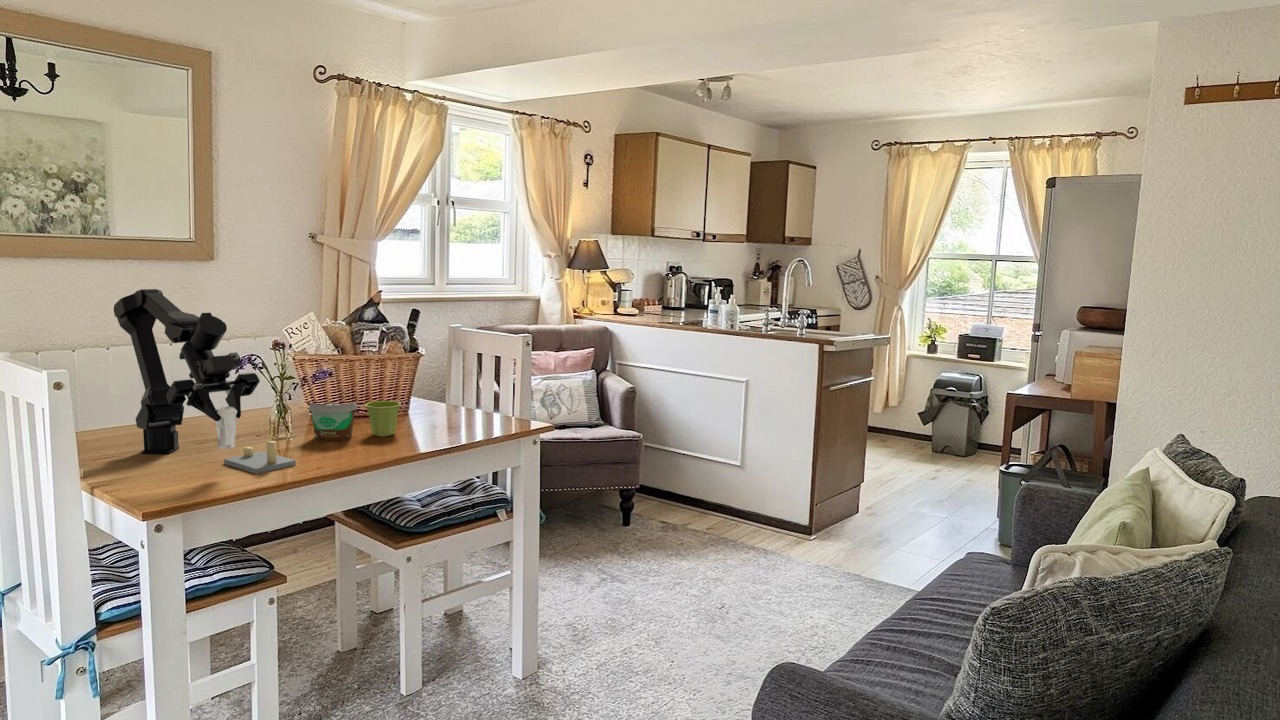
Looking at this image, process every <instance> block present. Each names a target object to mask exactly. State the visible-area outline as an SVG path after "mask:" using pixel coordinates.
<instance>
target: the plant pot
mask: <svg viewBox="0 0 1280 720" xmlns="http://www.w3.org/2000/svg"><path fill="white" fill-rule="evenodd" d="M364 405H365V407H366V410H367V413H368V417H369V423H370V429H371V434H372V436H376V437H380V438H381V437H390V436H393V435H395V434H396V427H397V421H398V412H399V410H400V406H401V405H402V403H401V402H400V401H394V400H377V401H376V400H375V401H370V402H366V403H365V404H364Z"/></svg>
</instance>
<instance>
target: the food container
mask: <svg viewBox="0 0 1280 720" xmlns="http://www.w3.org/2000/svg"><path fill="white" fill-rule="evenodd" d="M357 409H358V406H357V403H356V401H353V402H349V403H345V404H343V403H335V402H331V403H324V404H317V403H313V402H310V403H309V407H308V411H309V412H311V418H312V425H313V433H314V439H315V441H317V442H318V441H319V442H323V443H324V442H326V443H334V442H335V443H336V442H343V441H349V440H350V439H352V438H353V428H354V418H355V410H357Z"/></svg>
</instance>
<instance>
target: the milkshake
mask: <svg viewBox="0 0 1280 720" xmlns="http://www.w3.org/2000/svg"><path fill="white" fill-rule="evenodd" d="M216 411H217V413H218V416H219V421H217V422H216V421H215V426H216V436H217V445H218V446H217V447H218V449H222V450H223V449H224V450H228V449H229V450H230V449H233V448H235V446H236V430H237V420H238V418H237V410H236V409H235V408H234V407H229V405H227V406H222V407H219V408H217V409H216Z"/></svg>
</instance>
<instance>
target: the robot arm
mask: <svg viewBox="0 0 1280 720" xmlns="http://www.w3.org/2000/svg"><path fill="white" fill-rule="evenodd" d="M113 314H114V316H115V318H116V319H117V323H118V324H119V327H120V328H121V329H123V330H124V331H125V332H126V333H127V334H128V335H129V336H130V338H131V342H132V345H133V350H134V353H135V357H136V361H137V363H138V367H139V371H140V375H141V379H142V382H143V386H144V390H145V391H144V392H143V395H142V397H141V400H140V405H141V408H140V409H139V412H138V413H137V415H136V417H135V425H136V427H137V428H138V429H141V430H142V435H143V436H142V437H143V450H140V453H141V454H171V453H172V452H175V450H177V449H178V448H179V449H180V444H179V431H178V430H176V429H177V428H176V426H182V423H183V418H184V412H185V407H184V403H185V401H186V400H187V401H186V406H188V407H193V408H195V409H196V410H198V411H199V412H202V413H203V414H204V415H206V416H207V417H209V418H210V419H212V420H213V421H215V423H216V422H217V421H219V416H218V413H217V411H216V410H217V409H216V407H215V405H214V403H213V401H212V399H211V398H210V397H211V396H210V394H211V393H220V392H225V393H226V395H227V396H226V398H225V402H226V404H227V406H229V407H234V408H235V409H236V410H237V419H240V418H241V416H242V410H241V409H242V406H241V405H242V404H241V397H247V396H248V397H249V396H250V395H252V394H253V393H254V392H255V389H256V388H257V387H258V385H259V383H260V382H261V380H260V378H259V376H258V375H257V373H255V372H247V373H246V372H245V373H239V374H237V376H236V377H235V379H234V380H231V381H230V380H227V379H228V378H229V377H230V376H231V375H230V372H231V371H232V370H233V371H234V370H236V368H238V367H240V366H241V365H242V359H241V356H240V355H239V353H238V352H229V354H224V355H214V352H213V350H216V348H218V346H219V344H220V342H221V340H222V339H223V337H224V335H225V334H226V332H227V330H228V329H227V327H228V326H227V324H226V322H224V321H223V320H222V319H220V318H219V317H216V316H215V315H214V316H213V315H212V313H211V312H201V313H200V316H198V315H196V314H193V313H188V312H184V311H182V310H181V309H180V308H179V307H178V306H176V305H175V304H174V303H173V302H171V300H169V299H168V298H167V297H166V296H164V294H163V292H162V290H160V289H157V288H147V289H146V288H145V289H138V290H136V291H135V292H134V293H132V294H129V295H127V296H123V297H121V298H120V299H118V301H117V302H115V304H114V305H113ZM156 320H158V321H159V322H160V323H161V324H162V325H163V326H164V327H165V329H164V334H165V335H166V337H167V338H168V340H169V341H170V342H171V343H173V344H179V343H181V344H182V343H184V344H183V345H182V347H181V348H180V353H179V358H178V359H179V360H184V361H185V362H186V364H187V365H186V366H188V368H189V370H190V372H189V374H188V376H189V378H190V379H181V380H174V381H173V382H172V383H171V385H169V384H168V381H167V378H166V374H165V371H164V367H163V363H162V360H161V356H160V353H159V349H158V346H157V342H156V341H157V340H156V339H155V335H154V331H153V328H154V325H155V323H156ZM193 379H194V380H193Z"/></svg>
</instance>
